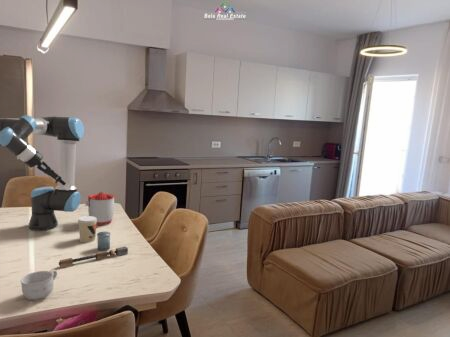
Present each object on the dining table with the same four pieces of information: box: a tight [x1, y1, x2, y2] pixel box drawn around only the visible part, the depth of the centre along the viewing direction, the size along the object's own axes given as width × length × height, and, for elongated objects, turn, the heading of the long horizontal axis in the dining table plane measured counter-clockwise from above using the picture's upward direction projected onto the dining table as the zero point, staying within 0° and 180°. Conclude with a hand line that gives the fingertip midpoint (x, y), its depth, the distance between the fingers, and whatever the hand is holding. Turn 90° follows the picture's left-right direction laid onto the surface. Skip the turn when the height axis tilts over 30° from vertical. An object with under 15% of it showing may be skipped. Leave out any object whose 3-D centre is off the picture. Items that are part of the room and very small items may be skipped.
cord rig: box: [58, 245, 129, 269], centre depth 165 cm, size 3×32×3 cm, turn 129°
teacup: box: [20, 269, 58, 301], centre depth 132 cm, size 14×11×8 cm
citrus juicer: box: [84, 191, 115, 226], centre depth 215 cm, size 16×17×20 cm
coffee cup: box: [77, 215, 97, 243], centre depth 188 cm, size 9×9×12 cm
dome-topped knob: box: [96, 231, 111, 252], centre depth 178 cm, size 6×6×8 cm
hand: (65, 185), depth 170 cm, fingers open, 13 cm apart
